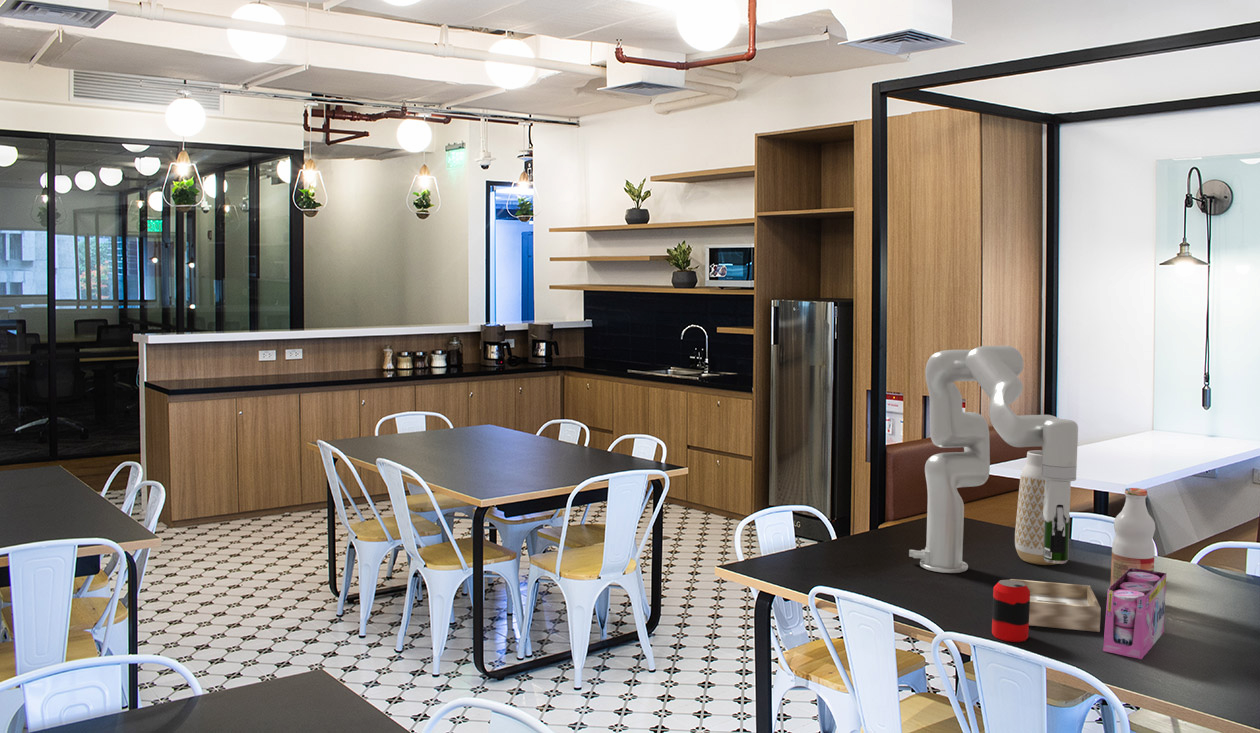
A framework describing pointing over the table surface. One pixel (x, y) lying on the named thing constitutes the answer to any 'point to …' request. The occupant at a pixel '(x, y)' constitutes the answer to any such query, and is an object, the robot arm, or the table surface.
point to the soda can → (1011, 611)
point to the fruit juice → (1133, 536)
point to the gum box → (1135, 612)
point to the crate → (1063, 606)
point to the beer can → (1049, 556)
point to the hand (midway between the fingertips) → (1056, 548)
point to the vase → (1031, 511)
